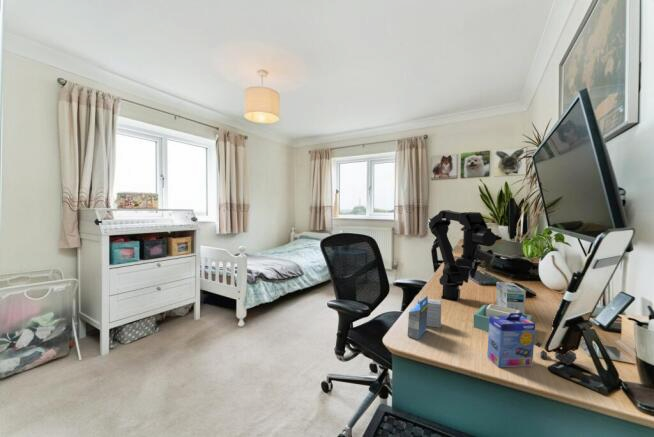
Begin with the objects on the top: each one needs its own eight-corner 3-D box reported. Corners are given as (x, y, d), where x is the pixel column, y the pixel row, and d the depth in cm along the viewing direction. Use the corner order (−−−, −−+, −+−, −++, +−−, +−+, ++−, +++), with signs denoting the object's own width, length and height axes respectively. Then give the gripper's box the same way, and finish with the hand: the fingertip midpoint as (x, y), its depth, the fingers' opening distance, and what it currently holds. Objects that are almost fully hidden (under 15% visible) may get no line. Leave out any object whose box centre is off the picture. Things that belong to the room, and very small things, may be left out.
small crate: (485, 324, 97) (486, 308, 97) (489, 319, 102) (490, 303, 101) (515, 333, 91) (516, 315, 91) (518, 327, 96) (519, 310, 95)
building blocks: (576, 358, 73) (543, 337, 77) (563, 372, 74) (531, 350, 79) (575, 353, 75) (543, 332, 79) (562, 367, 77) (531, 346, 81)
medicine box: (440, 323, 100) (440, 299, 100) (440, 328, 96) (441, 304, 95) (417, 320, 103) (417, 297, 102) (417, 325, 98) (417, 301, 98)
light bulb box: (525, 318, 105) (526, 290, 105) (505, 316, 106) (507, 289, 106) (512, 307, 116) (513, 282, 115) (494, 306, 117) (495, 281, 116)
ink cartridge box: (499, 368, 72) (502, 315, 72) (485, 357, 78) (487, 307, 77) (534, 367, 73) (537, 314, 72) (518, 355, 79) (520, 306, 78)
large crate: (473, 328, 97) (473, 314, 97) (483, 317, 106) (483, 304, 106) (525, 343, 87) (526, 327, 86) (531, 329, 96) (531, 315, 96)
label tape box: (415, 326, 97) (416, 292, 96) (427, 330, 95) (428, 295, 94) (407, 336, 90) (407, 299, 89) (419, 340, 87) (420, 302, 87)
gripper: (487, 247, 100) (485, 289, 101) (498, 242, 114) (497, 279, 115) (455, 244, 108) (454, 283, 109) (469, 239, 121) (468, 274, 122)
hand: (469, 280), depth 113 cm, fingers open, 9 cm apart
